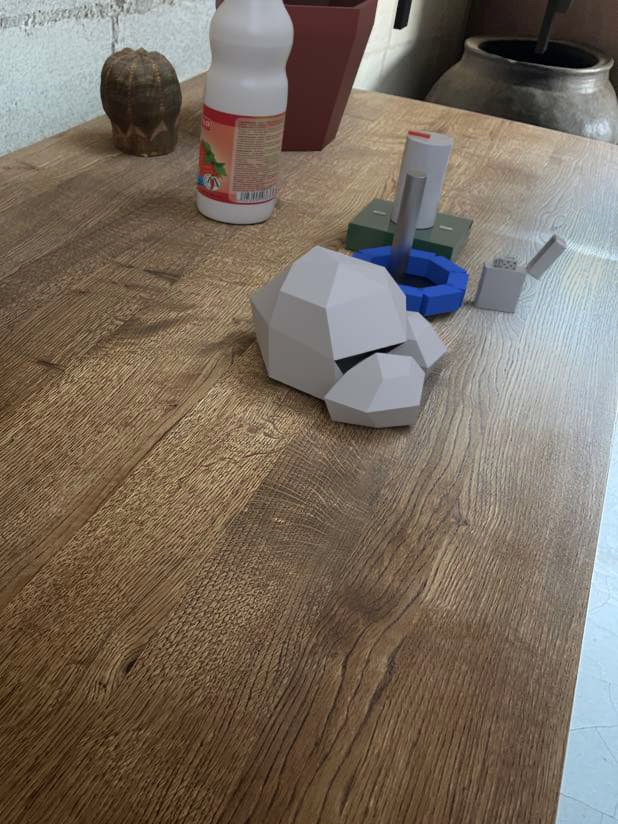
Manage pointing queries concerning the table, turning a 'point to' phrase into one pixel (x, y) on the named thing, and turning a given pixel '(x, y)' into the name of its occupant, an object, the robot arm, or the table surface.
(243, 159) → the fruit juice
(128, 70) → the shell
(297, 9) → the bucket
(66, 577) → the table surface
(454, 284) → the ring
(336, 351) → the rock
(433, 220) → the tap knob
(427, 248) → the panel
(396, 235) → the peg stand
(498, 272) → the lighter
